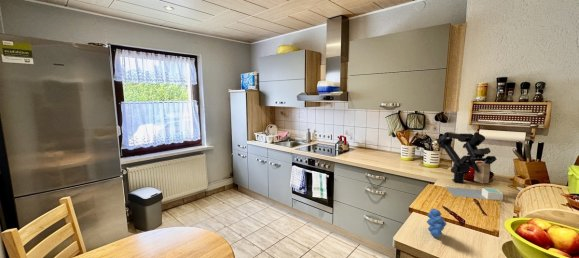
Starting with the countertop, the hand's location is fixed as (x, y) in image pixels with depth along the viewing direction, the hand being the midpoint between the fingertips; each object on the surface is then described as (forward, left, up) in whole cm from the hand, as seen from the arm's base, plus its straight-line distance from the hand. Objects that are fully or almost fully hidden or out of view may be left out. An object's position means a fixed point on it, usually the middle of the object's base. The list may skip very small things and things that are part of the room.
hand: (484, 172), depth 144 cm
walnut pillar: (-1, 0, -6) cm, 7 cm away
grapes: (+60, -40, -14) cm, 74 cm away
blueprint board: (+3, -6, -13) cm, 15 cm away
